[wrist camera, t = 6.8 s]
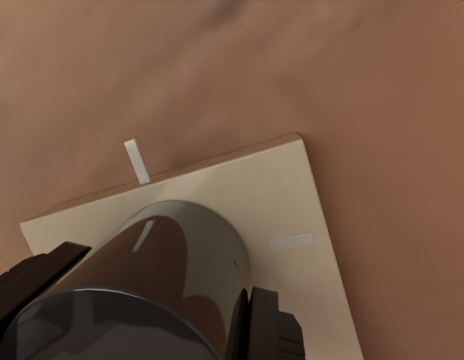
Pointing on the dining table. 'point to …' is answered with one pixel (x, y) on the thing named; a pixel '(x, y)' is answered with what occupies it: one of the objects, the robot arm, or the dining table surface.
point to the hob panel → (236, 229)
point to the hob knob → (144, 294)
